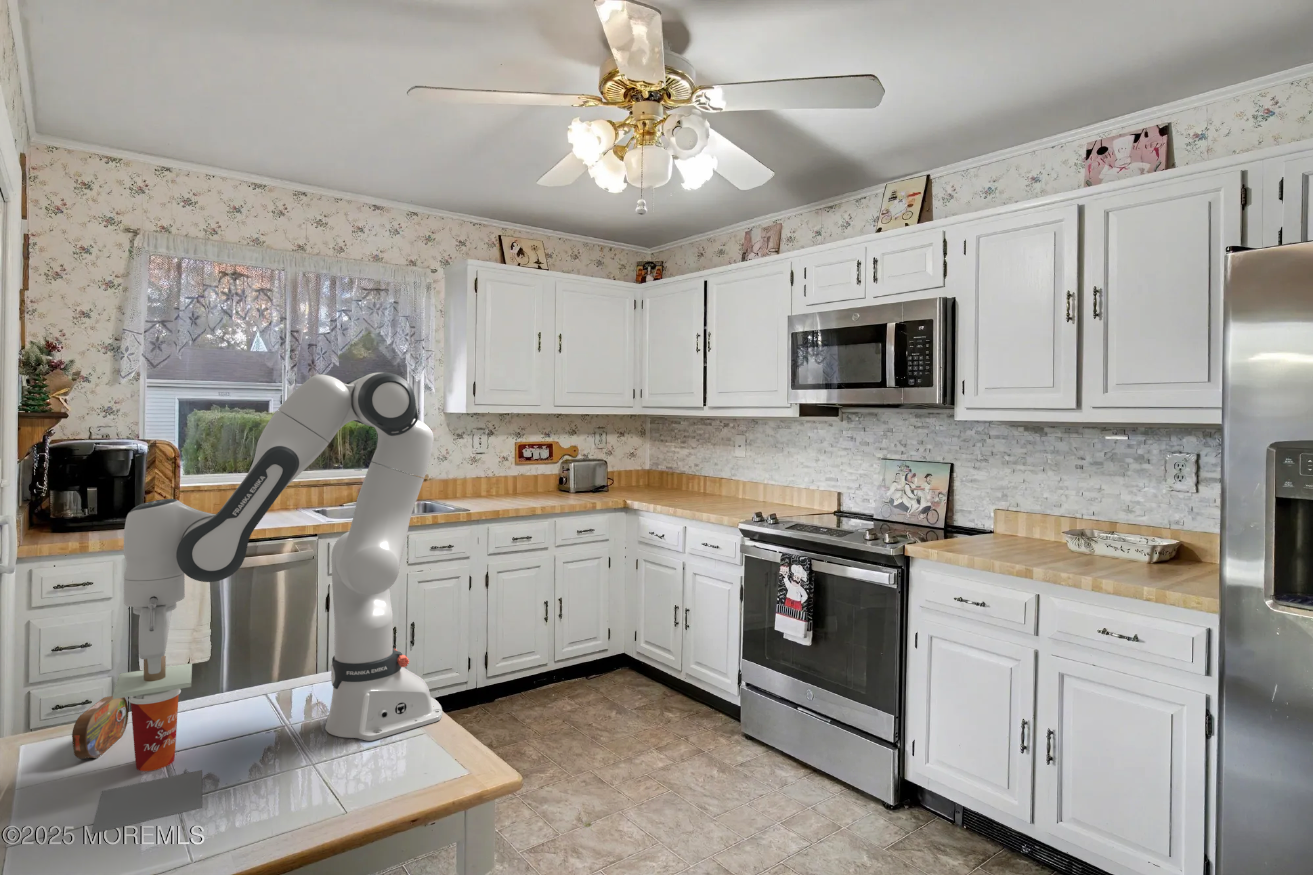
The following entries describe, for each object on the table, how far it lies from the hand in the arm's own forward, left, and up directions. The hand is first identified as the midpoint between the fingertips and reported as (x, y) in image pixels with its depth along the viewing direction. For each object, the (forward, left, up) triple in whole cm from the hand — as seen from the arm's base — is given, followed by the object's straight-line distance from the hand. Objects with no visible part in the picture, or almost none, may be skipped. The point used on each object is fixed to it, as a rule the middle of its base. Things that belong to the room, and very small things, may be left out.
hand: (155, 668), depth 128 cm
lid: (0, 0, -2) cm, 3 cm away
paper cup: (0, 0, -18) cm, 18 cm away
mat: (0, +14, -18) cm, 22 cm away
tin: (+9, -13, -18) cm, 24 cm away
